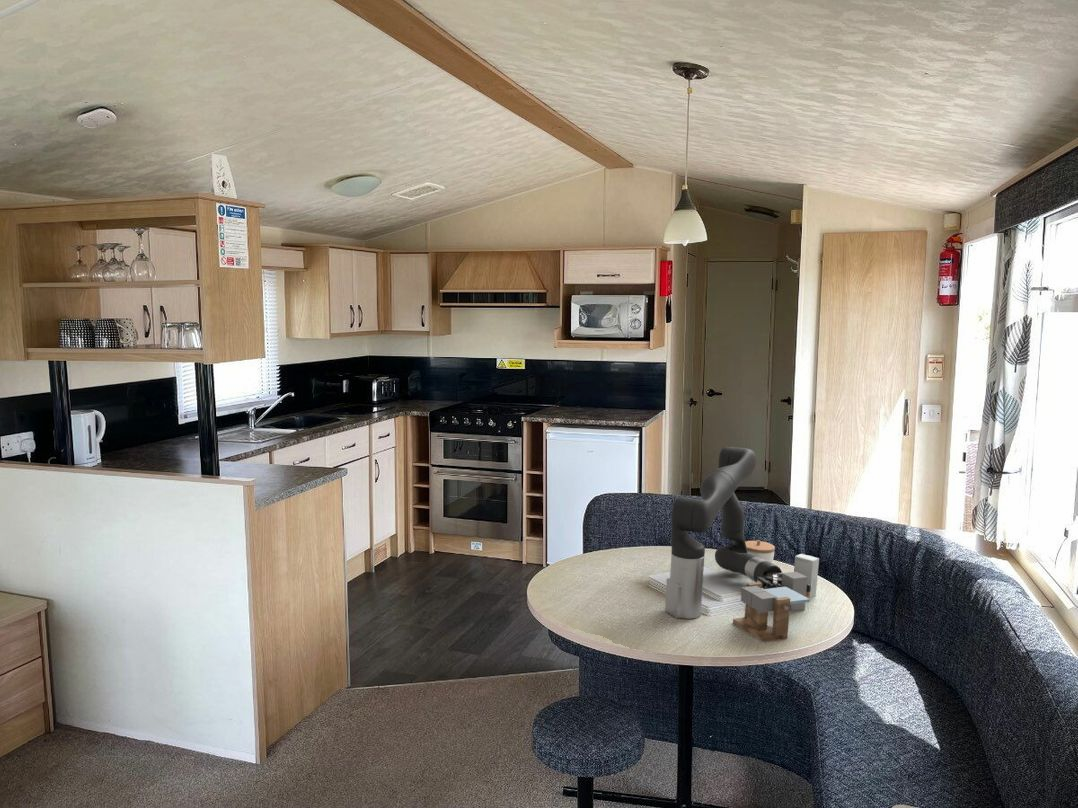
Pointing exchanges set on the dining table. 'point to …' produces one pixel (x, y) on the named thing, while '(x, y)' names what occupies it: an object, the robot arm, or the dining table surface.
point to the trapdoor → (769, 597)
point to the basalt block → (795, 587)
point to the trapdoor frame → (758, 621)
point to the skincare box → (808, 571)
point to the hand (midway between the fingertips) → (797, 590)
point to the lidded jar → (761, 549)
